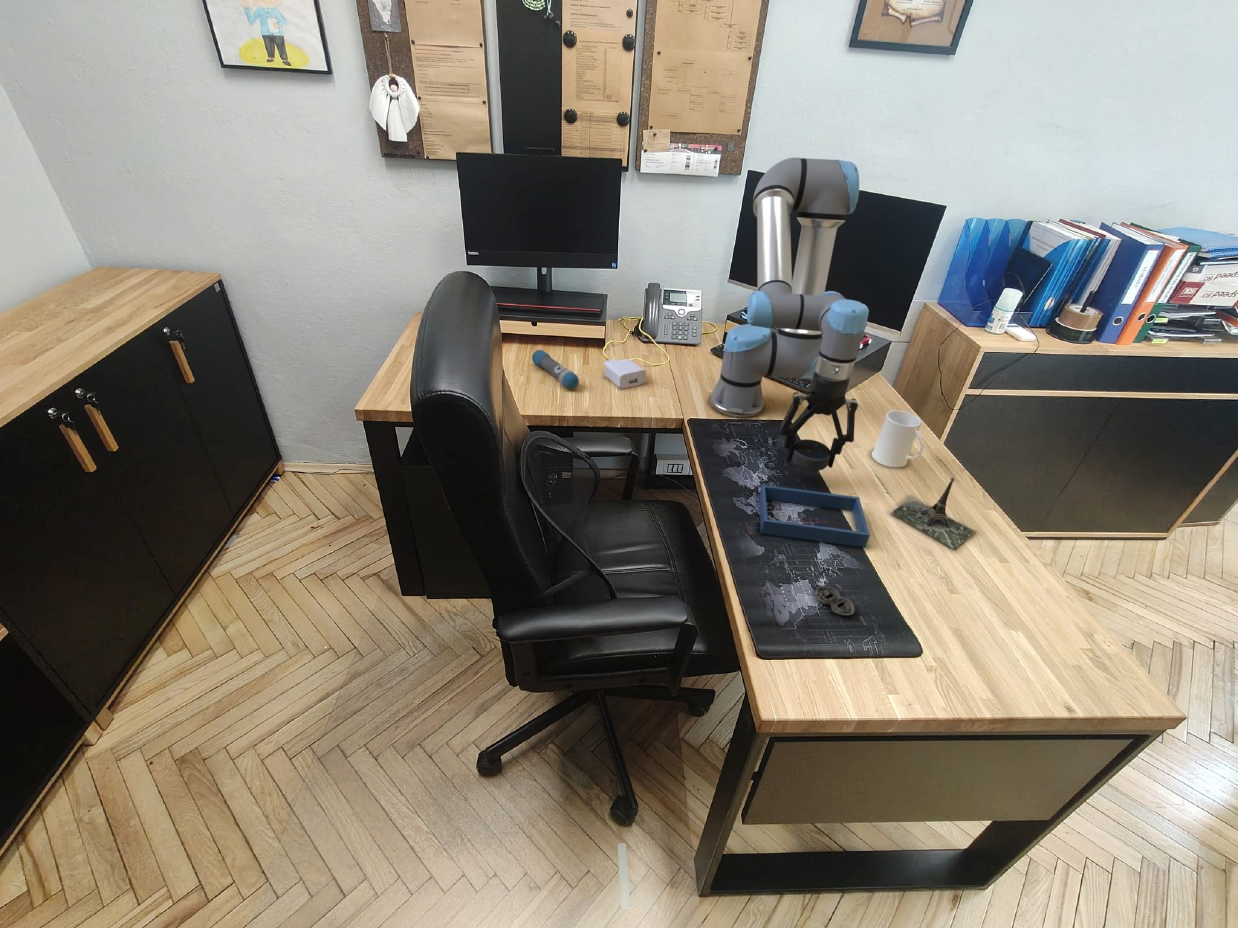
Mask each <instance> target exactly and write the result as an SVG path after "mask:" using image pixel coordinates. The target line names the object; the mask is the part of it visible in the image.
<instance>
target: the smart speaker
mask: <svg viewBox="0 0 1238 928" xmlns="http://www.w3.org/2000/svg"><path fill="white" fill-rule="evenodd" d="M830 457H831V452H830V448H829V447H828V446H827V445H826V444H824V443H822V442H821V441H818V440H815V439H810V438H809V439H808V438H807V439H799V440H796V441H795V444H794V448H793V452H792V456H791V460H790V462H792V464H793V465H794V466H796V467H798V468H800V469H801V470H805V471H809V472H818V471H820V472H821V471H822V470H825V469H826V468H828V464H829V461H830Z"/></svg>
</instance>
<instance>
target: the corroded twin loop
mask: <svg viewBox="0 0 1238 928" xmlns="http://www.w3.org/2000/svg"><path fill="white" fill-rule="evenodd" d="M815 595H816V597H817V601H818V602H819V603H821V604H822V605H826V606H830V607H831V611H832V612H833V613H834V614H835V615H839V616H842V617H848V616H851V615H853V614H855V611H856V608H855V604H854V602H853V601H851V599H849V598H846V597H843V596H842V595H841V593H840V591H839V589H837V588H836V587H833V586H829V585H818V586H816V588H815ZM829 595H831V597H829V598H826V597H827V596H829ZM839 604H843V605H842V606H840V607H839Z"/></svg>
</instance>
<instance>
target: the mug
mask: <svg viewBox="0 0 1238 928" xmlns="http://www.w3.org/2000/svg"><path fill="white" fill-rule="evenodd" d="M921 424H922V420H921V419H920V418H919V416H917V415H916V414H913V413H911V412H909V411H905V410H897V409H896V410H894V409H893V410H890V411H888V412H887V413H886V414H885V418H884V419H883V424H882V426H881V429H880V432H879V435H878V438H877V440H876V444H875V447H874V449H873V450H872V452H871V457H872V458H873V460H874V461H875V462H877V463H879V464H880V465H882V466H885V467H889V468H897V469H898V468H903V467H905V466H906V465H907V464H908V460H915V459H917V458H919V457H920V456H921V455H922V454H923V452H924V445H925V444H924V439H923V437H922V435H921V433H920V432H919V430H920V428H921ZM916 437H917V439H918V441H919V445H920V448H919V451H918V453H917V454H915V455H910V453H911V451H912V448H913V445H914V443H915V440H916Z"/></svg>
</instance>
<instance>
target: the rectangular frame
mask: <svg viewBox="0 0 1238 928" xmlns="http://www.w3.org/2000/svg"><path fill="white" fill-rule="evenodd" d="M767 500H768V501H775V502H781V503H789V504H798V505H806V506H813V507H821V508H828V509H837V510H844V511H851V512H852V516H853V520H854V524H855V527H856V530H852V529H851V530H850V529H844V528H837V527H828V526H823V525H822V526H821V525H815V524H806V523H798V522H791V521H784V520H776V519H768V505H767ZM758 502H759V503H758V507H759V520H760V521H759V522H760V523H759V524H760V534H762V535H770V536H776V537H777V536H778V537H784V538H792V539H799V540H806V541H812V542H813V541H814V542H822V543H827V544H835V545H842V546H850V547H857V548H866V547H867V544H868V542H869V539H870V536H871V534H870V531H869V528H868V523H867V520H866V516H865V513H864V510H863V509H864V508H863V506H862V503H861V499H860V497H859V496H853V495H845V494H838V493H830V492H821V491H815V490H814V491H813V490H806V489H798V488H790V487H784V486H783V487H782V486H774V485H768V484H766V485H765V484H761V486H760V489H759V494H758Z"/></svg>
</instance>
